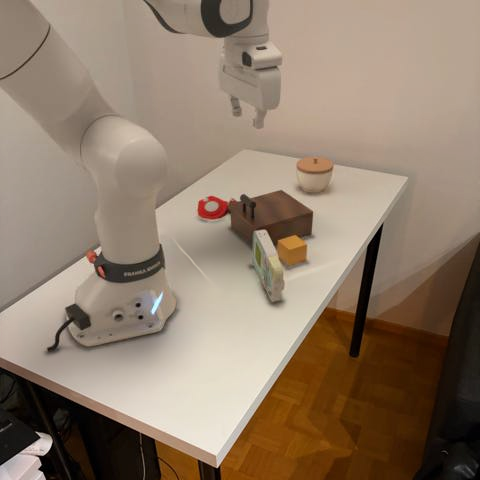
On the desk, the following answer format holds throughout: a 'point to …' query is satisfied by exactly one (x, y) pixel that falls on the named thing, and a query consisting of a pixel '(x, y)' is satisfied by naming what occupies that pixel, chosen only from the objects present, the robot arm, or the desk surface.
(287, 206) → the lid
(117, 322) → the robot arm
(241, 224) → the chest
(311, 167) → the trinket box
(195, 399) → the desk surface
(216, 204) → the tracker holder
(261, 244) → the handheld gaming console
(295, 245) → the block
